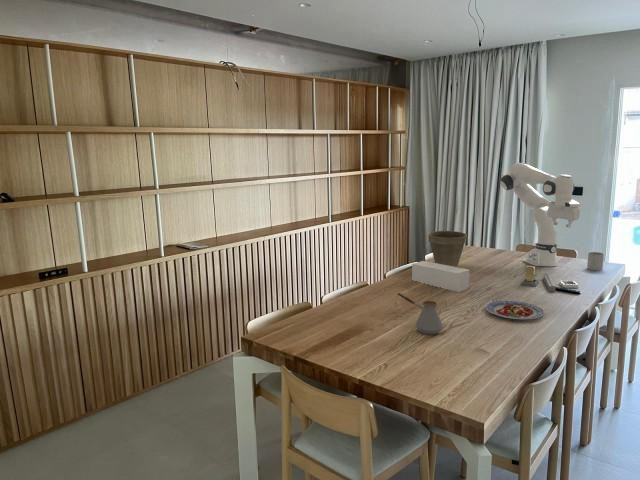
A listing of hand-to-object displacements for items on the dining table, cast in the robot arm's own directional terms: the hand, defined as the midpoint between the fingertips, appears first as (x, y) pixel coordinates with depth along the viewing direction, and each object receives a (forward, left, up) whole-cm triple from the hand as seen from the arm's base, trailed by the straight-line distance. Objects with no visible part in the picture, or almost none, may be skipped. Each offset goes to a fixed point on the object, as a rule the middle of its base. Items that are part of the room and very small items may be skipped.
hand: (561, 226), depth 274 cm
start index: (+16, -9, -31) cm, 36 cm away
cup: (-6, +36, -31) cm, 48 cm away
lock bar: (+4, -25, -31) cm, 40 cm away
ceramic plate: (+39, -67, -32) cm, 84 cm away
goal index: (+4, -25, -31) cm, 40 cm away
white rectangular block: (-17, -71, -32) cm, 80 cm away
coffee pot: (+39, -119, -31) cm, 129 cm away
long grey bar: (+10, -17, -31) cm, 37 cm away
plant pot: (-53, -42, -31) cm, 75 cm away
